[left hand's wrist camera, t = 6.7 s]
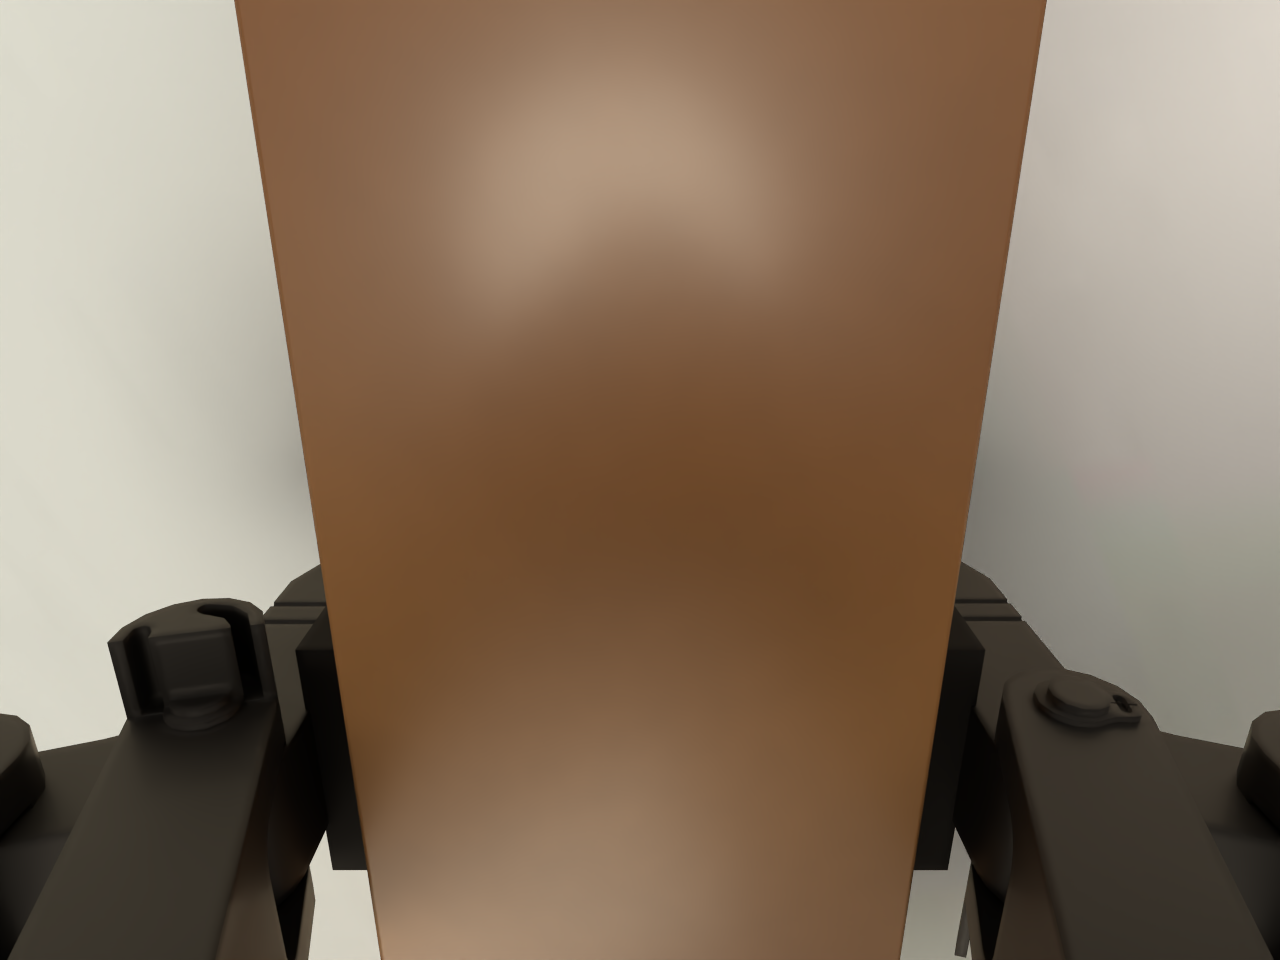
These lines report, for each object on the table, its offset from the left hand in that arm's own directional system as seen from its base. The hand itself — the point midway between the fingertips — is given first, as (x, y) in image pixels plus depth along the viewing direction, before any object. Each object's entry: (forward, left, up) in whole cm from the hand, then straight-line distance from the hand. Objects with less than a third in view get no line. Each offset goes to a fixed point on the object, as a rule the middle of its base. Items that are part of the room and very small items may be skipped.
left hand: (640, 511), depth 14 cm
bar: (-17, +29, -1) cm, 33 cm away
